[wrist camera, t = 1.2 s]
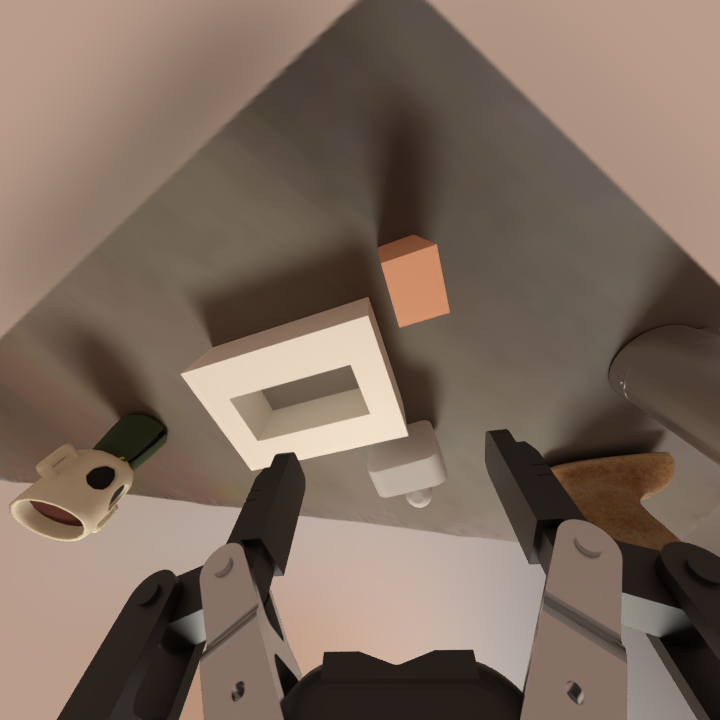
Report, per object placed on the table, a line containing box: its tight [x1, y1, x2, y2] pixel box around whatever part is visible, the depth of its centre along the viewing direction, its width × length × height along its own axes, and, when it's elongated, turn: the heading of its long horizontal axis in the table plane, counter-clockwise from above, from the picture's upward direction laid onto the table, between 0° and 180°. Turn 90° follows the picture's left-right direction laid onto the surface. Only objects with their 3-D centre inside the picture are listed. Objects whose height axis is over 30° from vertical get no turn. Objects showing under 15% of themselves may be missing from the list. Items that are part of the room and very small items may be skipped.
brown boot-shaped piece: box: [550, 452, 681, 551], centre depth 33 cm, size 15×12×15 cm
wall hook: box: [367, 420, 447, 508], centre depth 34 cm, size 8×10×10 cm
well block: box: [181, 297, 409, 471], centre depth 30 cm, size 19×14×6 cm
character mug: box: [9, 415, 167, 541], centre depth 32 cm, size 11×7×13 cm, turn 3°
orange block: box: [378, 234, 450, 328], centre depth 22 cm, size 4×4×10 cm
